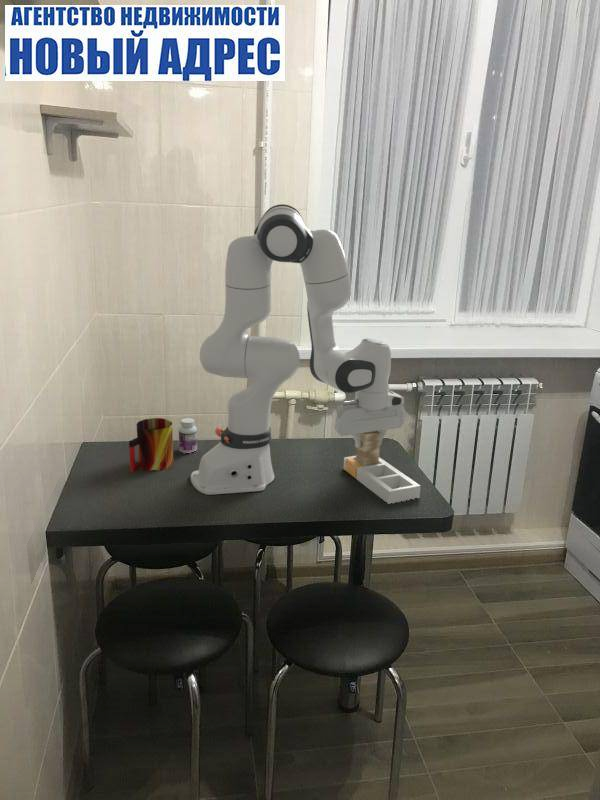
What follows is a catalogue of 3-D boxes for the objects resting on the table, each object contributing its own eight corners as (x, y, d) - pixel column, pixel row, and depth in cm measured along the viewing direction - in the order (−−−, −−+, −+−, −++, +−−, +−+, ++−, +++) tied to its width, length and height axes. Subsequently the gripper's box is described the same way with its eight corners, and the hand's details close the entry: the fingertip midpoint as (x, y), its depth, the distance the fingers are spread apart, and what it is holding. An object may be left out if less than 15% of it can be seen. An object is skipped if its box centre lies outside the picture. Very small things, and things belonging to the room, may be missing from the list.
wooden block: (363, 468, 176) (366, 435, 173) (355, 462, 180) (357, 429, 177) (378, 466, 178) (380, 432, 175) (369, 460, 182) (372, 427, 179)
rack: (387, 504, 161) (388, 490, 160) (342, 469, 182) (343, 456, 180) (419, 498, 165) (420, 484, 164) (372, 464, 186) (373, 452, 185)
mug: (129, 476, 172) (127, 434, 169) (143, 456, 185) (141, 417, 182) (165, 477, 172) (164, 436, 169) (176, 457, 185) (175, 418, 182)
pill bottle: (177, 448, 192) (176, 418, 189) (194, 446, 194) (193, 416, 191) (181, 455, 187) (181, 424, 184) (199, 452, 189) (198, 422, 186)
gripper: (342, 405, 166) (340, 455, 170) (409, 398, 174) (405, 445, 178) (332, 398, 171) (329, 446, 176) (397, 391, 179) (393, 437, 184)
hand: (368, 445), depth 177 cm, fingers closed on wooden block, 5 cm apart
